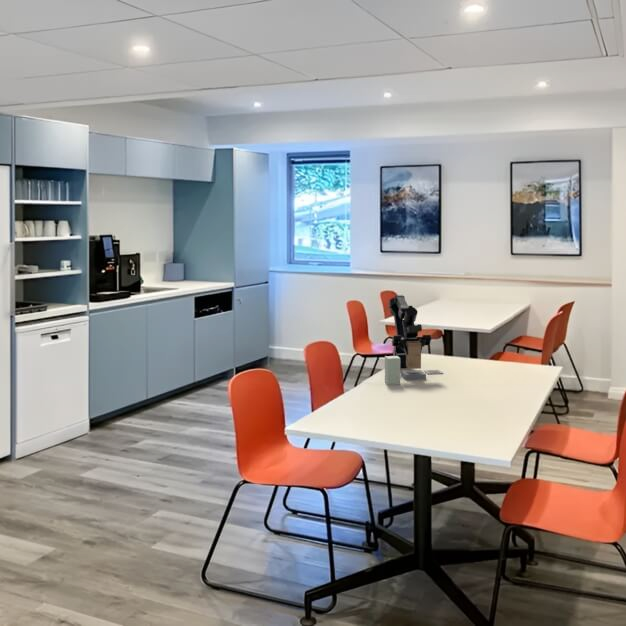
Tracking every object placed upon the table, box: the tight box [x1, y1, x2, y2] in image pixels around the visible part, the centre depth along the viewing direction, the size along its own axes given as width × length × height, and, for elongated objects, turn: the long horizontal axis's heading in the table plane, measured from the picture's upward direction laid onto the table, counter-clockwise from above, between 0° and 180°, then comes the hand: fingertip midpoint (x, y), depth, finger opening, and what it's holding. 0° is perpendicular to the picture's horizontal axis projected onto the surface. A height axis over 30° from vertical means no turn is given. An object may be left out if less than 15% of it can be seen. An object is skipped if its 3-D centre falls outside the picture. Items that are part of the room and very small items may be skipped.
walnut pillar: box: [406, 341, 422, 370], centre depth 363 cm, size 6×6×12 cm
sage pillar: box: [384, 355, 401, 386], centre depth 351 cm, size 6×6×12 cm
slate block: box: [400, 369, 427, 381], centre depth 364 cm, size 10×10×3 cm
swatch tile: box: [423, 369, 444, 375], centre depth 376 cm, size 8×8×1 cm
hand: (414, 354), depth 362 cm, fingers closed on walnut pillar, 6 cm apart
